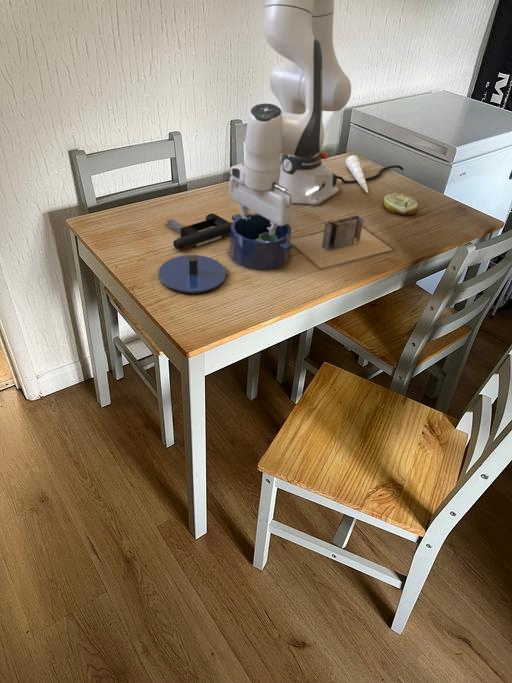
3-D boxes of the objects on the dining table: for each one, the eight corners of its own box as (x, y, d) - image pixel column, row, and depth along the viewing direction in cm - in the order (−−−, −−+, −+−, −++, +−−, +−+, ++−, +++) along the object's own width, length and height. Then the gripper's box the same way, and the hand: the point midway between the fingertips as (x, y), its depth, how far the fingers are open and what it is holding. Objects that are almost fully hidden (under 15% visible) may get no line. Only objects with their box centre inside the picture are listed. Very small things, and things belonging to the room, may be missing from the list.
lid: (198, 252, 145) (198, 235, 142) (239, 279, 136) (240, 262, 132) (145, 272, 136) (144, 254, 132) (185, 303, 127) (185, 285, 123)
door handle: (149, 222, 151) (180, 243, 141) (207, 206, 161) (240, 224, 152) (150, 233, 153) (181, 255, 143) (207, 216, 163) (240, 235, 153)
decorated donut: (405, 220, 168) (408, 209, 165) (376, 208, 173) (378, 197, 171) (421, 210, 174) (424, 199, 172) (393, 199, 179) (395, 188, 177)
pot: (254, 230, 156) (256, 205, 151) (307, 261, 145) (311, 235, 140) (212, 246, 148) (212, 220, 142) (264, 281, 136) (266, 253, 131)
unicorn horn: (356, 194, 180) (359, 180, 177) (344, 166, 199) (346, 154, 196) (370, 194, 181) (373, 181, 178) (356, 167, 199) (359, 154, 196)
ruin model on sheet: (321, 268, 143) (326, 235, 136) (288, 240, 153) (292, 208, 147) (392, 249, 153) (400, 218, 147) (357, 224, 164) (363, 194, 157)
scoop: (267, 242, 150) (268, 230, 148) (279, 250, 148) (281, 237, 145) (237, 254, 144) (238, 241, 142) (250, 262, 142) (250, 249, 139)
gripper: (301, 188, 128) (295, 239, 137) (244, 160, 139) (242, 209, 148) (282, 195, 124) (277, 247, 133) (225, 165, 135) (224, 215, 144)
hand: (258, 227), depth 141 cm, fingers open, 8 cm apart
